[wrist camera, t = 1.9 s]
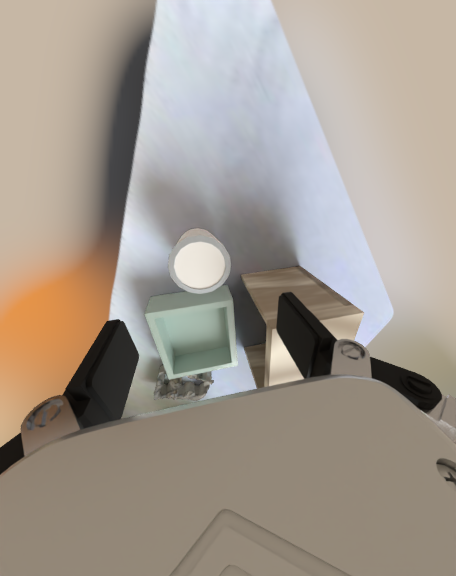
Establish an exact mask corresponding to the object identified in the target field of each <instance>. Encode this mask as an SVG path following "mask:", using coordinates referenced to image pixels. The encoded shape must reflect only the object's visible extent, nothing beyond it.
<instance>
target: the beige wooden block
mask: <svg viewBox="0 0 456 576" xmlns="http://www.w3.org/2000/svg"><path fill="white" fill-rule="evenodd" d="M241 279H242V281H243V283H244V285H245V286H246V288H247V290H248V292H249V294H250V295H251V297H252V299H253V301H254V303H255V305H256V306H257V308H258V310H259V312H260V314H261V316H262V317H263V319H264V321H265V323H266V325H267V329H266V343H264V344H259V345H253V346H248V347H244V350H245V353H246V356H247V360H248V363H249V366H250V369H251V372H252V375H253V378H254V381H255V384H256V387H257V389H258V388H263V387H267V386H272V385H277V384H281V383H286V382H291V381H296V380H301V379H304V378H303V376H302V375H301V373H300V371H299V369H298V368H297V366H296V364H295V362H294V361H293V359H292V357H291V356H290V354H289V352H288V350H287V349H286V347H285V345H284V344H283V342H282V340H281V338H280V337H279V335H278V333H277V330H276V324H277V312H278V300H279V296H281V294H282V293H285V292H292V293H293V294H294V295H295V296H296V297H297V298H298V299H299V300H300V301H301V302H302V303H303V304H304V305H305V307H306V308H307V309H308V310H310V311H311V312H312V313H313V314H314V315H315V316H316V317H317V319H318V320H319V321H320V322H321V323H322V324H323V325H324V326H325V327H326V328H327V329H328V330H329V331H330V332H331V333H332V335H333V336H334V337H335V338H336V339H337V340H340V339H350V340H353V341H354V339H355V336H356V334H357V331H358V328H359V325H360V323H361V320H362V317H363V314H364V312H363V311H361V310H360V309H359V308H357V307H356V306H354V305H353V304H352V303H350V302H349V301H348V300H346V299H345V298H343V297H342V296H341V295H339V294H338V293H337V292H335V291H334V290H332V289H331V288H330V287H328V286H327V285H326V284H324V283H323V282H321V281H320V280H319V279H317V278H316V277H315V276H313V275H312V274H310V273H309V272H308V271H306V270H305V269H304V268H302V267H301V266H296V267H289V268H283V269H276V270H269V271H262V272H255V273H248V274H241Z"/></svg>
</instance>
